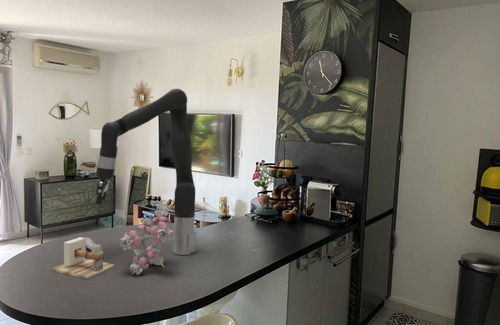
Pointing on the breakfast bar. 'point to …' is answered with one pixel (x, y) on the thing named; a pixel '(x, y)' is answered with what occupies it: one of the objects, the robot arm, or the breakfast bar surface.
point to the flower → (152, 232)
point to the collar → (69, 250)
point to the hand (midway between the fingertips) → (100, 202)
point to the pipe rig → (85, 265)
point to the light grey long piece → (93, 246)
